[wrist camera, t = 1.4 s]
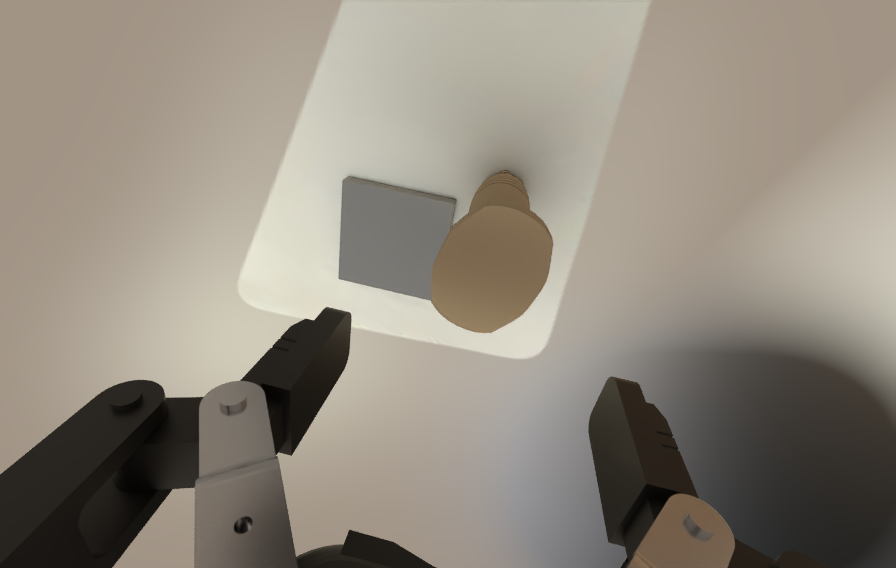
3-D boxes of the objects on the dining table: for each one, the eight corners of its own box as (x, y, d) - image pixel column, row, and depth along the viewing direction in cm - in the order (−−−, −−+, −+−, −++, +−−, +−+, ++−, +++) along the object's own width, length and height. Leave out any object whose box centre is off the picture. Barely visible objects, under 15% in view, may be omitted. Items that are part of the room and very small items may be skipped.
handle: (457, 211, 33) (412, 302, 19) (496, 136, 30) (474, 186, 16) (509, 238, 33) (499, 347, 20) (553, 168, 30) (576, 241, 17)
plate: (348, 176, 33) (342, 179, 32) (455, 199, 32) (453, 204, 31) (343, 273, 37) (338, 278, 36) (438, 295, 36) (435, 301, 35)
